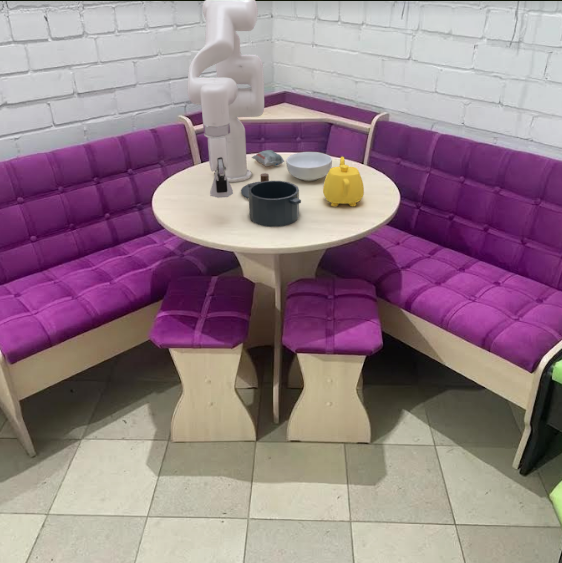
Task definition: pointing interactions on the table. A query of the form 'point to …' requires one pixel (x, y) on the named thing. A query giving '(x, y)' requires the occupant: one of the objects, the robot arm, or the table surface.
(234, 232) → the table surface
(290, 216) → the pot
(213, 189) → the flask
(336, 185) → the teapot
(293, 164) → the cereal bowl
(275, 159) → the packaged food
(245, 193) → the pot lid
